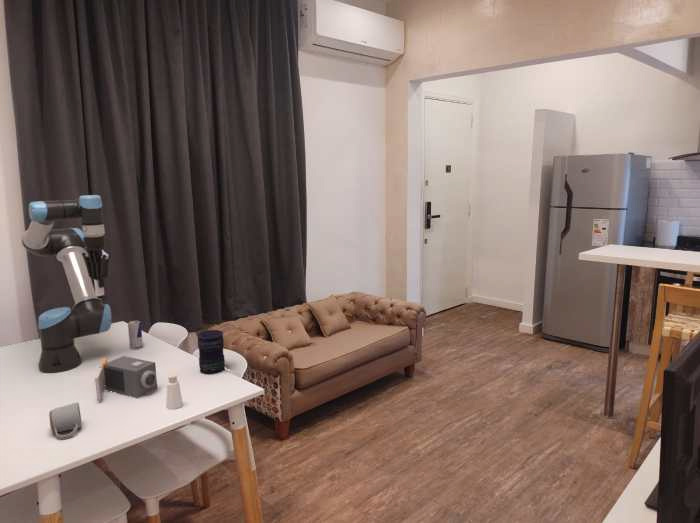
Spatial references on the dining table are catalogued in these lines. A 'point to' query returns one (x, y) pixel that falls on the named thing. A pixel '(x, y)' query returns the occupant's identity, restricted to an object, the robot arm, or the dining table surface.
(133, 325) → the energy drink
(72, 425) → the ceramic mug
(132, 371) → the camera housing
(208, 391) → the dining table surface
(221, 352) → the storage jar
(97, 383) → the side door
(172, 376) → the pepper shaker
